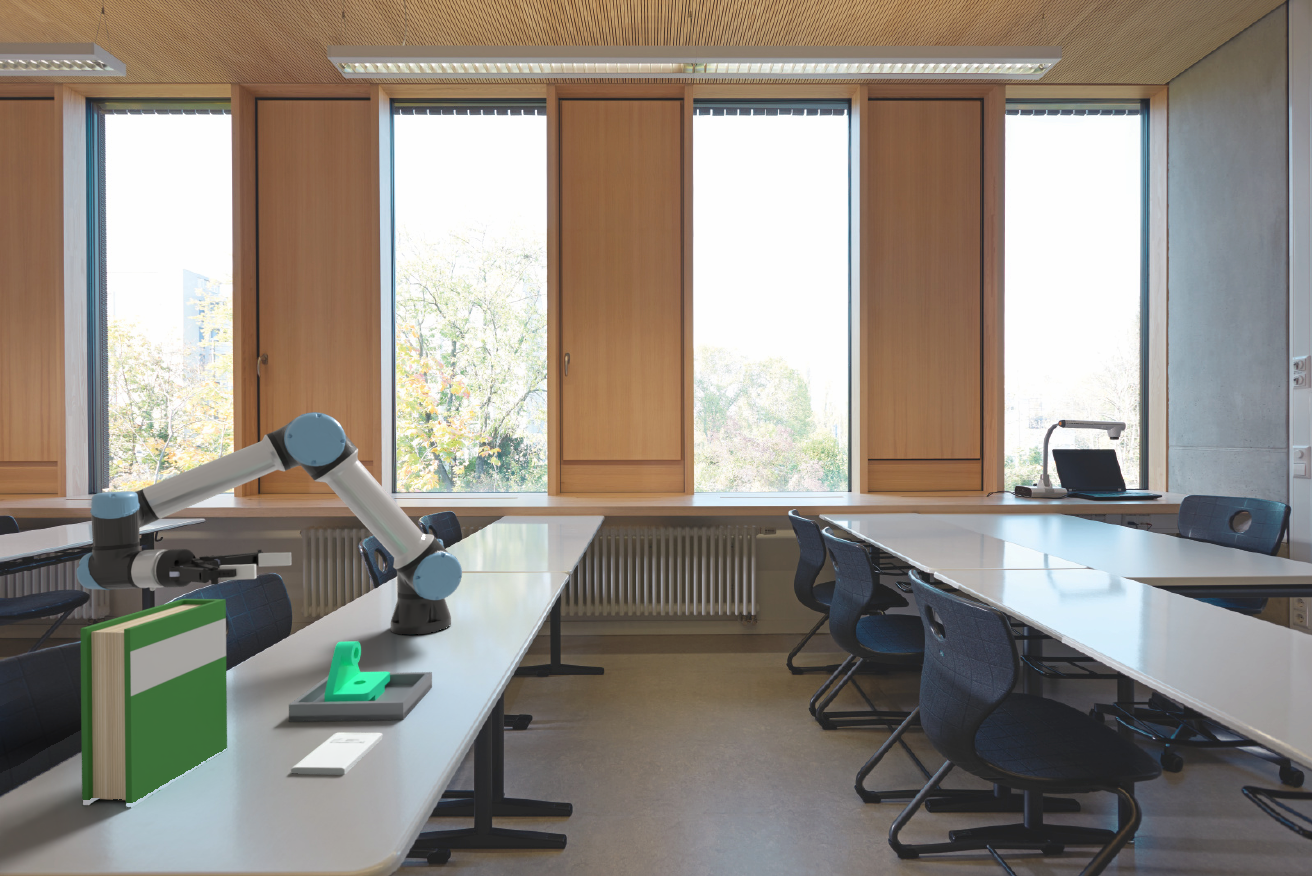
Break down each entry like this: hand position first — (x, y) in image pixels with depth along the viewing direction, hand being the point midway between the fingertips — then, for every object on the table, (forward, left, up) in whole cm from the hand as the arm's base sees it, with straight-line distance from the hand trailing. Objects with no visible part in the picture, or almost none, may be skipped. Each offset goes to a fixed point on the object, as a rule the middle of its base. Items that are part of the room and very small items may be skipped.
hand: (274, 564), depth 139 cm
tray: (+10, +22, -24) cm, 35 cm away
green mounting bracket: (+9, +21, -24) cm, 33 cm away
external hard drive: (+32, +27, -25) cm, 49 cm away
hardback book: (+37, +3, -25) cm, 45 cm away
